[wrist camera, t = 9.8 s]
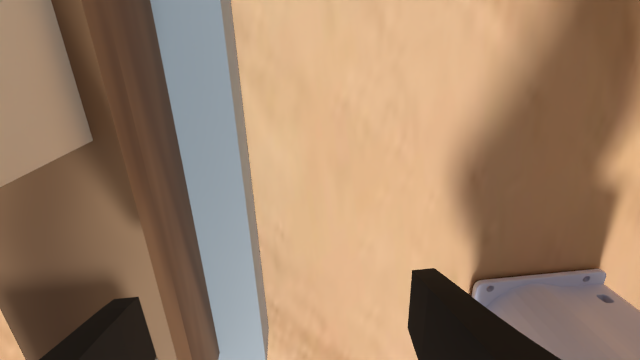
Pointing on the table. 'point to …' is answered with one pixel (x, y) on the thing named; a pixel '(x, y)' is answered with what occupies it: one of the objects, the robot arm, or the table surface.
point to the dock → (216, 165)
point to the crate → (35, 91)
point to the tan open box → (108, 201)
